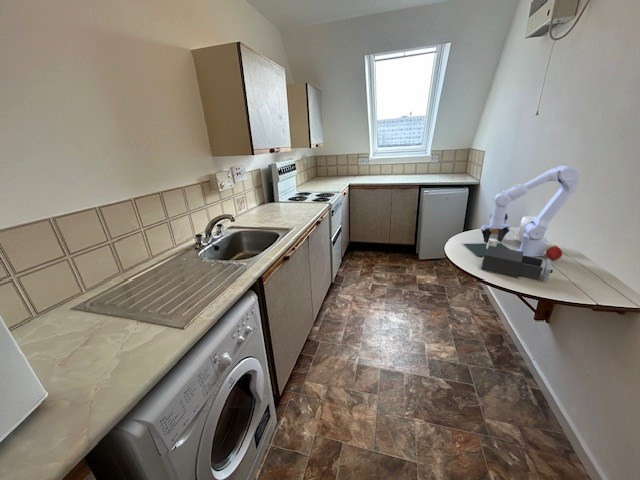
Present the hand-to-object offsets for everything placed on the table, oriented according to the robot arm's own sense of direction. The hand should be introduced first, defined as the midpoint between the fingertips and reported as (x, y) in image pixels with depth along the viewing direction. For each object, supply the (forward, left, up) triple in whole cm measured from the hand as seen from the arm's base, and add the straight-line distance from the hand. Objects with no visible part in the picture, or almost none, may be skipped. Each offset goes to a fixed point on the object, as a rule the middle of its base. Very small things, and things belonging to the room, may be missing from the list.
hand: (492, 241), depth 140 cm
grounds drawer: (-2, +27, -3) cm, 28 cm away
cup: (-23, -8, -5) cm, 25 cm away
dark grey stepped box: (+7, +21, -4) cm, 23 cm away
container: (0, 0, -4) cm, 4 cm away
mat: (+1, +1, -4) cm, 5 cm away
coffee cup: (-10, -15, -5) cm, 19 cm away
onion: (-21, +14, -5) cm, 26 cm away
